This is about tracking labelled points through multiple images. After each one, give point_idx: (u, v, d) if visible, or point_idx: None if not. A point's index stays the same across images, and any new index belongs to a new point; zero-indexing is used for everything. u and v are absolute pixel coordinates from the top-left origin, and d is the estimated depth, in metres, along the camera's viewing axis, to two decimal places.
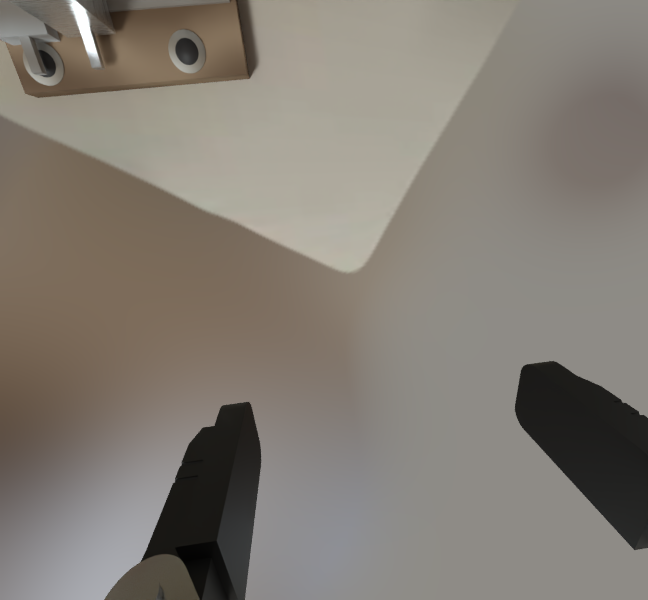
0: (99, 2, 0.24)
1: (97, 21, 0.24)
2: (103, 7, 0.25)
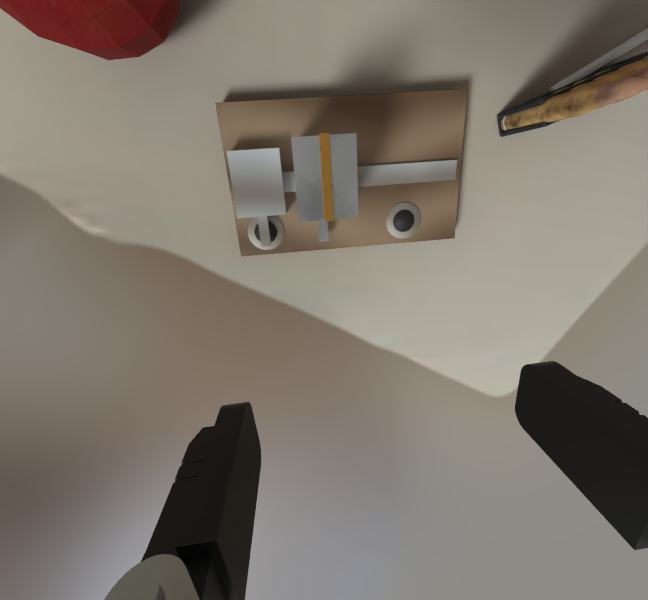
0: None
1: None
2: None
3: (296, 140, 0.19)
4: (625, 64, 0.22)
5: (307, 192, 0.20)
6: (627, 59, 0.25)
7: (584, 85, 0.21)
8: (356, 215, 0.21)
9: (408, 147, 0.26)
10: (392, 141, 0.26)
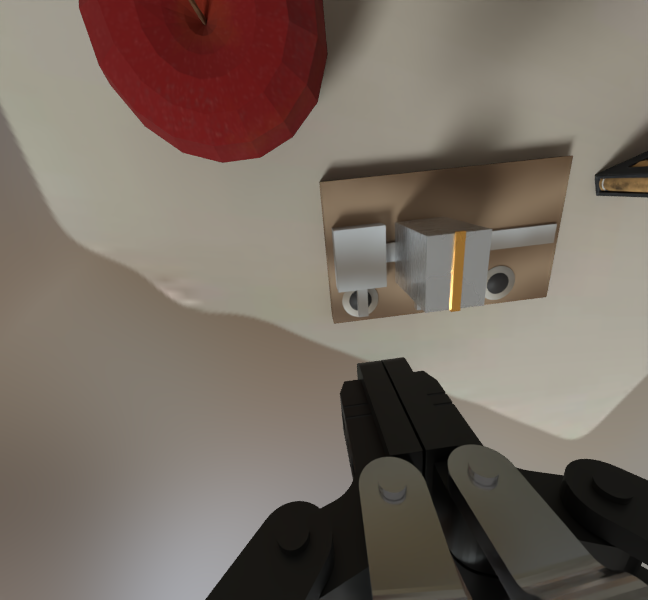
0: None
1: None
2: None
3: (432, 239, 0.18)
4: None
5: (436, 285, 0.19)
6: None
7: None
8: (482, 303, 0.20)
9: (508, 214, 0.25)
10: (493, 209, 0.25)
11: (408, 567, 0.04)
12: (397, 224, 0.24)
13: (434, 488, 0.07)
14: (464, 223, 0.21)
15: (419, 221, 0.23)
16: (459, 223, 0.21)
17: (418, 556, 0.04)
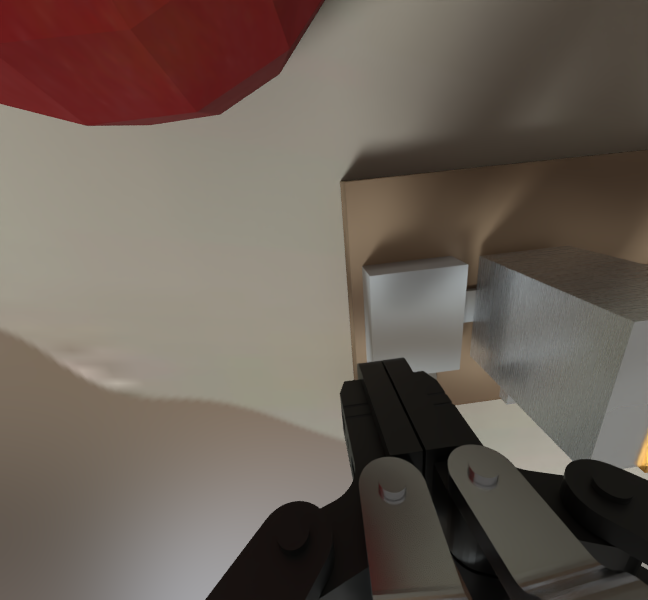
0: None
1: None
2: None
3: (644, 327, 0.07)
4: None
5: (625, 423, 0.08)
6: None
7: None
8: None
9: None
10: None
11: (408, 567, 0.04)
12: (489, 262, 0.13)
13: (434, 488, 0.07)
14: None
15: (533, 257, 0.12)
16: (643, 270, 0.10)
17: (418, 556, 0.04)
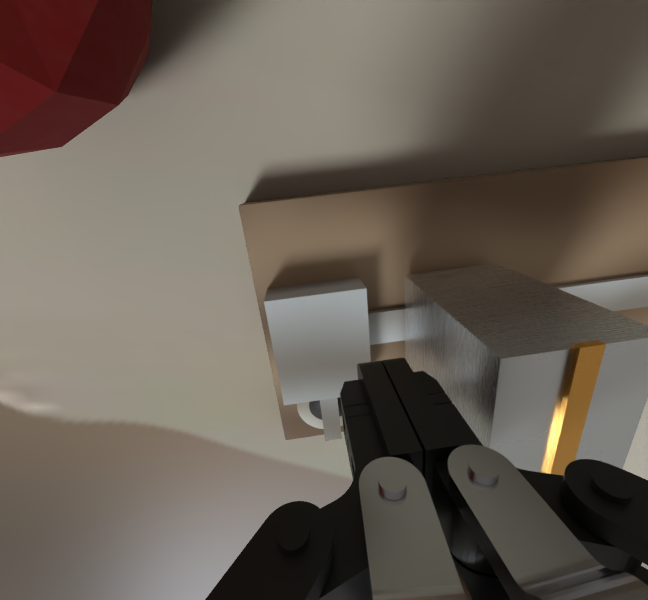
0: None
1: None
2: None
3: (512, 364, 0.07)
4: None
5: (513, 458, 0.08)
6: None
7: None
8: None
9: (592, 256, 0.14)
10: (566, 249, 0.14)
11: (408, 567, 0.04)
12: (410, 282, 0.12)
13: (434, 488, 0.07)
14: (562, 295, 0.09)
15: (453, 277, 0.12)
16: (549, 294, 0.10)
17: (418, 556, 0.04)
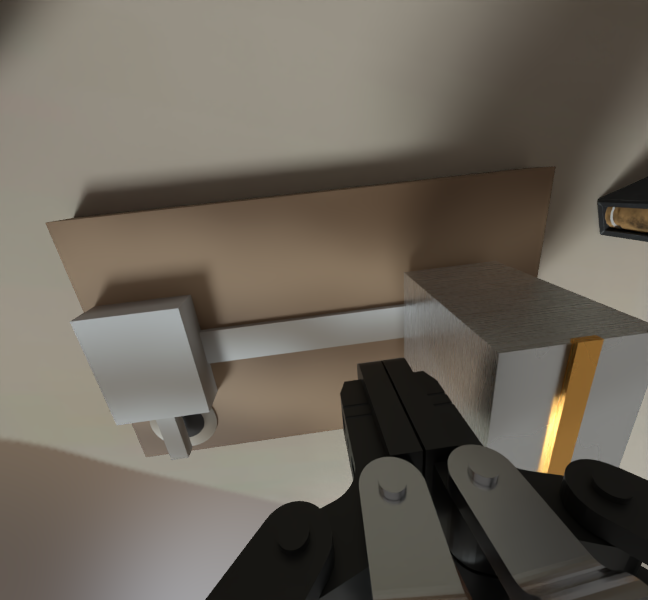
0: None
1: None
2: None
3: (511, 358, 0.07)
4: None
5: (511, 453, 0.08)
6: None
7: None
8: None
9: None
10: (407, 267, 0.13)
11: (408, 567, 0.04)
12: (409, 279, 0.12)
13: (434, 488, 0.07)
14: (560, 292, 0.10)
15: (452, 274, 0.12)
16: (547, 290, 0.10)
17: (418, 556, 0.04)
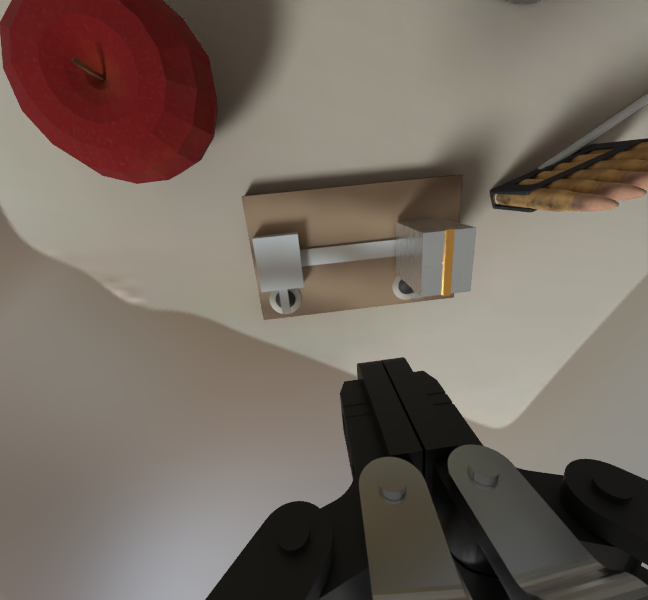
0: None
1: None
2: None
3: (427, 235, 0.22)
4: (600, 160, 0.25)
5: (430, 273, 0.24)
6: (604, 145, 0.28)
7: (563, 182, 0.24)
8: (468, 290, 0.24)
9: None
10: (397, 220, 0.29)
11: (408, 567, 0.04)
12: (398, 224, 0.28)
13: (434, 488, 0.07)
14: (454, 223, 0.25)
15: (416, 221, 0.27)
16: (450, 223, 0.25)
17: (418, 556, 0.04)
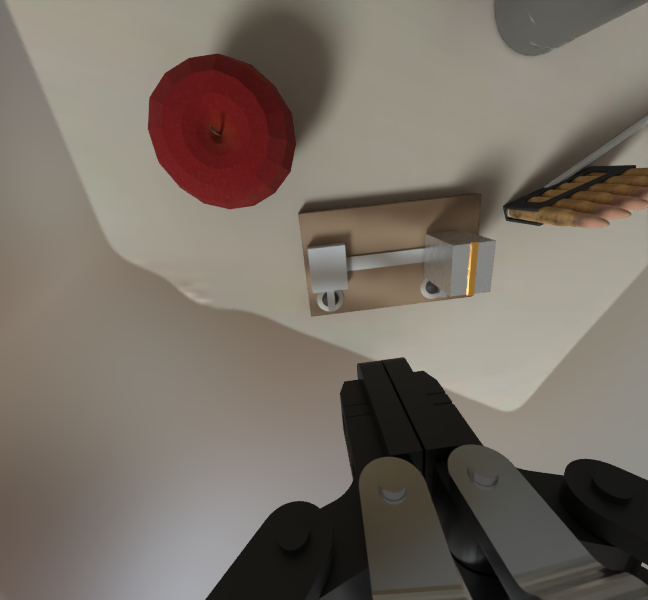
0: None
1: None
2: None
3: (456, 247, 0.28)
4: (596, 183, 0.30)
5: (458, 277, 0.29)
6: (600, 168, 0.33)
7: (566, 202, 0.30)
8: (488, 290, 0.30)
9: None
10: (425, 232, 0.34)
11: (408, 567, 0.04)
12: (427, 235, 0.33)
13: (434, 488, 0.07)
14: (476, 235, 0.30)
15: (443, 233, 0.33)
16: (472, 235, 0.31)
17: (418, 556, 0.04)
